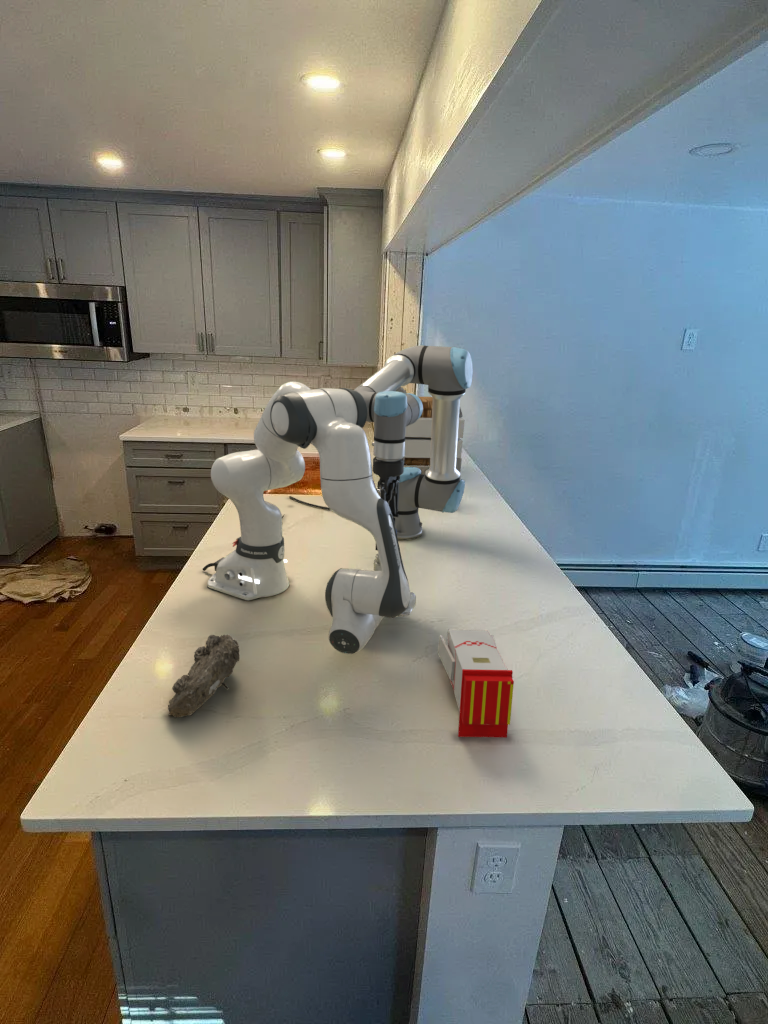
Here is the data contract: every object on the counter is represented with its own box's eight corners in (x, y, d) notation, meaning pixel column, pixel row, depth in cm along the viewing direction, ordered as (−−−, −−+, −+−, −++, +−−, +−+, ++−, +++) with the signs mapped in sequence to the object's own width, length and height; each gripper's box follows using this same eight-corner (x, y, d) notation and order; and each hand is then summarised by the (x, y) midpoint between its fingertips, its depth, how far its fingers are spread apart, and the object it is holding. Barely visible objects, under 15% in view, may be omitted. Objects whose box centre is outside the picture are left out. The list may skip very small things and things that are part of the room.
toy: (488, 613, 130) (523, 677, 101) (484, 667, 133) (517, 744, 104) (435, 612, 130) (455, 676, 101) (432, 666, 133) (451, 743, 103)
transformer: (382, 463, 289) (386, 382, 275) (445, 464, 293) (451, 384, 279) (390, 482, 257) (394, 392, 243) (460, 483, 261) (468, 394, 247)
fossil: (192, 637, 126) (240, 606, 121) (222, 665, 128) (270, 636, 123) (145, 711, 106) (200, 678, 101) (182, 743, 109) (237, 712, 104)
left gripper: (409, 604, 132) (422, 579, 145) (328, 589, 138) (347, 566, 150) (407, 628, 135) (421, 601, 147) (327, 612, 140) (347, 588, 152)
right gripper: (385, 447, 146) (382, 530, 154) (360, 465, 129) (358, 557, 137) (414, 450, 144) (409, 534, 152) (391, 469, 127) (387, 562, 135)
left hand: (383, 583), depth 149 cm, fingers closed on jar, 5 cm apart
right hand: (385, 545), depth 144 cm, fingers closed on lid, 6 cm apart
